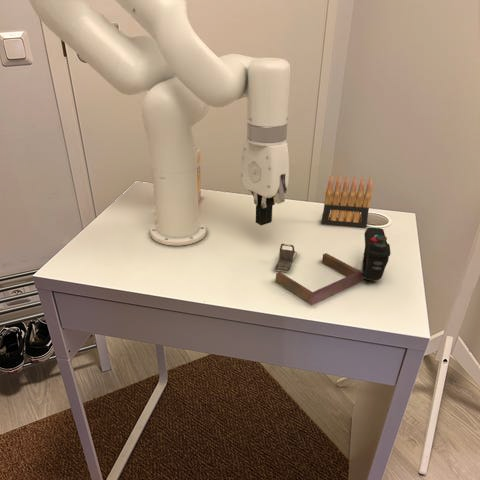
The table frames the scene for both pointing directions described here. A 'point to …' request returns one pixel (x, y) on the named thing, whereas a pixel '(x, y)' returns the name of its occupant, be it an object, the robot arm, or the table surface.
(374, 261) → the controller
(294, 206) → the table surface
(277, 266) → the strap clip
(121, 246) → the table surface
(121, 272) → the table surface
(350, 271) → the frame
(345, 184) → the ammunition clip
